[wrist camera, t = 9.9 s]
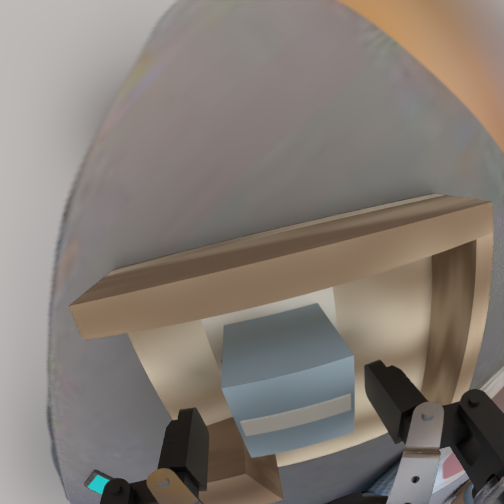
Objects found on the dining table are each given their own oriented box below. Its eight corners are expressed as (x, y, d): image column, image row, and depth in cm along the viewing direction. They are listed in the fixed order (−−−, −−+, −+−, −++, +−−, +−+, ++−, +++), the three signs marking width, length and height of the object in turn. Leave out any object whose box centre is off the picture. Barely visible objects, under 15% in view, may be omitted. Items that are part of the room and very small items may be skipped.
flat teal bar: (94, 471, 19) (212, 515, 22) (96, 466, 20) (212, 510, 22) (83, 486, 20) (186, 525, 23) (85, 481, 21) (186, 521, 24)
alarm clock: (505, 451, 33) (538, 492, 12) (489, 470, 35) (518, 510, 14) (458, 485, 31) (491, 538, 10) (441, 502, 33) (468, 551, 12)
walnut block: (274, 447, 17) (283, 499, 12) (218, 464, 17) (217, 513, 13) (241, 413, 16) (245, 473, 11) (180, 433, 16) (172, 488, 11)
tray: (422, 405, 19) (449, 439, 14) (211, 466, 19) (210, 512, 14) (433, 193, 15) (492, 201, 10) (113, 269, 15) (68, 306, 9)
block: (317, 303, 14) (355, 356, 9) (326, 374, 15) (354, 433, 10) (223, 325, 14) (221, 390, 9) (245, 393, 15) (251, 459, 10)
